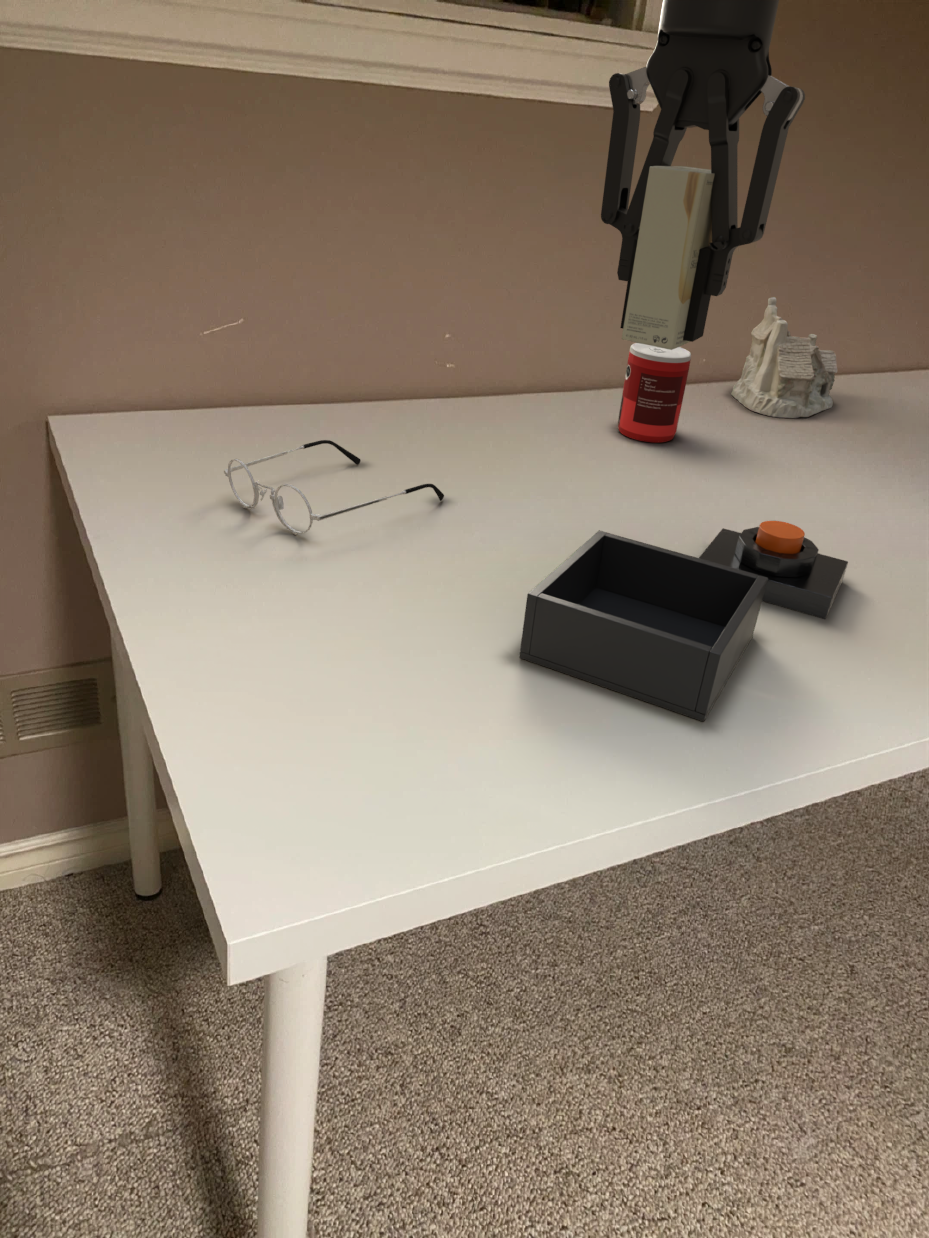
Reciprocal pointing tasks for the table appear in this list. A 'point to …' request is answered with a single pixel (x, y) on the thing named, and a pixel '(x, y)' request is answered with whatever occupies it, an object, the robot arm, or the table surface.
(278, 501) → the eyeglasses
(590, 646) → the bin
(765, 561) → the control block
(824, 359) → the ceramic cottage
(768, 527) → the button
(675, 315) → the cosmetic box
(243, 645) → the table surface
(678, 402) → the canned food
